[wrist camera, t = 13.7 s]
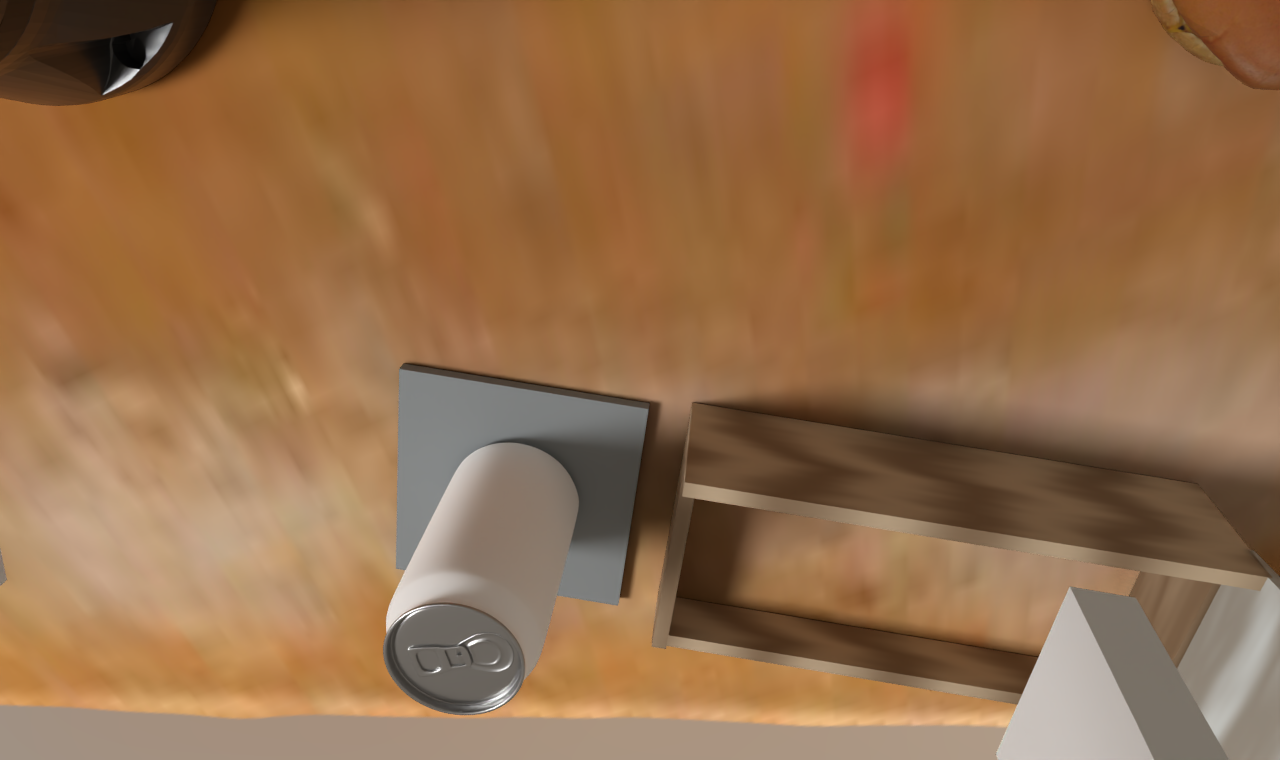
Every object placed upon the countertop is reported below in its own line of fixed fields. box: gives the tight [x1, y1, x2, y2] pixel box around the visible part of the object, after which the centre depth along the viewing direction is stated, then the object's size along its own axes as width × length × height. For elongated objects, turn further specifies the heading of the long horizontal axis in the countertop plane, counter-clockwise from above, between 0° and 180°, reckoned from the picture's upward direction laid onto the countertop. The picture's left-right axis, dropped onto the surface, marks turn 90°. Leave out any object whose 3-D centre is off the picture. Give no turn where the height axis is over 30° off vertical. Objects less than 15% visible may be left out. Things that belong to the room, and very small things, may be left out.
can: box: [383, 443, 579, 715], centre depth 42 cm, size 6×6×12 cm
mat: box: [396, 364, 650, 605], centre depth 48 cm, size 12×12×1 cm
